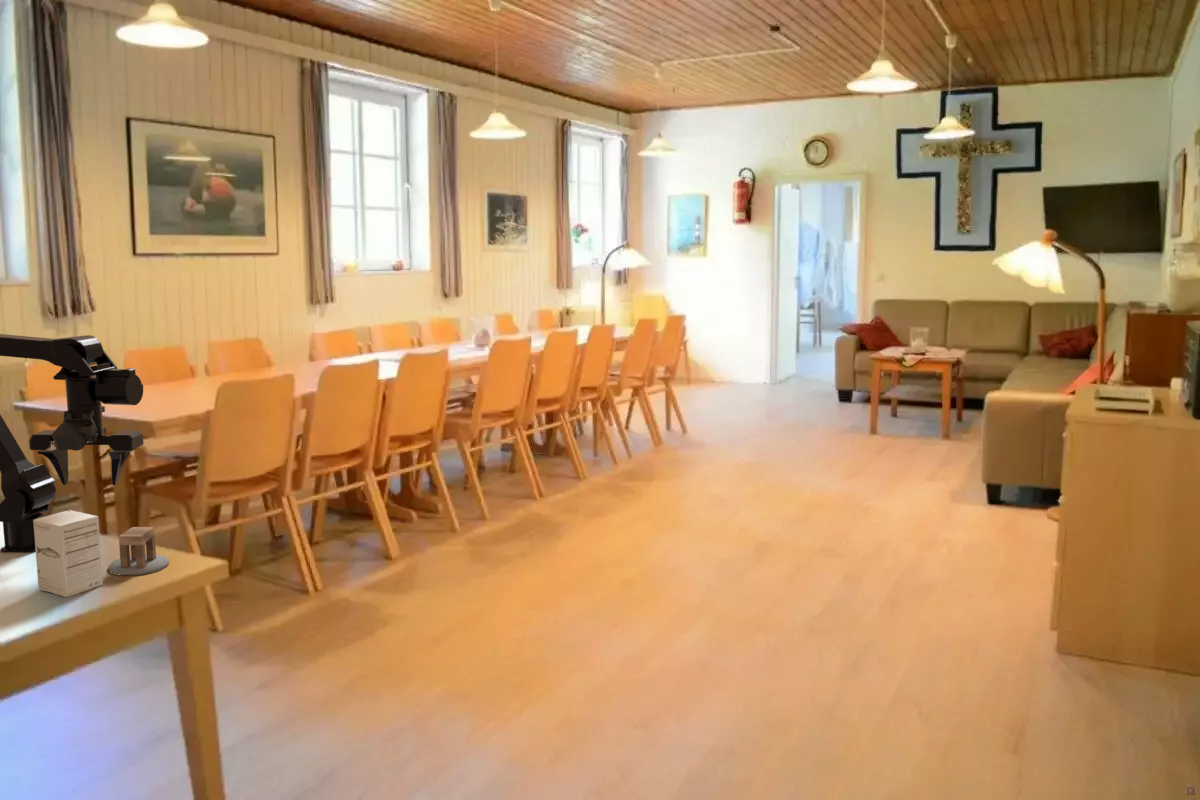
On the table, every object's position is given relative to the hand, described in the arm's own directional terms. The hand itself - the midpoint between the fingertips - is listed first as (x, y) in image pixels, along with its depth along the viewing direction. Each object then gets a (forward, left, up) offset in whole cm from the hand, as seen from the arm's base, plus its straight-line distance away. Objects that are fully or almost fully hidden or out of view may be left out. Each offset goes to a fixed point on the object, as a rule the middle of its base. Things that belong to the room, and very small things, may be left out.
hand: (90, 484), depth 190 cm
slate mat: (+12, -9, -13) cm, 20 cm away
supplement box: (+5, -20, -13) cm, 25 cm away
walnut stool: (+12, -9, -12) cm, 19 cm away
